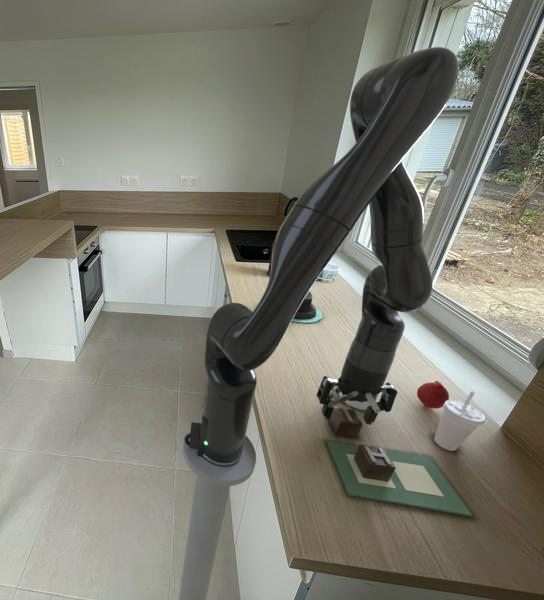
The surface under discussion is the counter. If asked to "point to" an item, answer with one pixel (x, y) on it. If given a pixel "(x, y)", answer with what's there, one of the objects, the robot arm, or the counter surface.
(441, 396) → the onion
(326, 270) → the food container
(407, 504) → the word mat
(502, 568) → the counter surface
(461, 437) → the smoothie
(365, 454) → the tile
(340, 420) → the tile
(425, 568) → the counter surface
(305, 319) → the chocolate cake
